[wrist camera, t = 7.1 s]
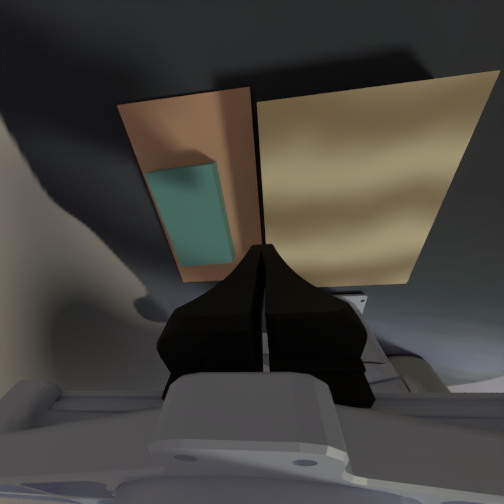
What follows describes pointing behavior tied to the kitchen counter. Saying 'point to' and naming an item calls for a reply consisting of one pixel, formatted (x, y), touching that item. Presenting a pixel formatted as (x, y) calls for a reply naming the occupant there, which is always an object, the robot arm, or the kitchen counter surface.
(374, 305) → the kitchen counter surface
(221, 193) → the teal rectangular block
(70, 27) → the kitchen counter surface
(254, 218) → the terracotta mat
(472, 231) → the kitchen counter surface
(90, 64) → the kitchen counter surface
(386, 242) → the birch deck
